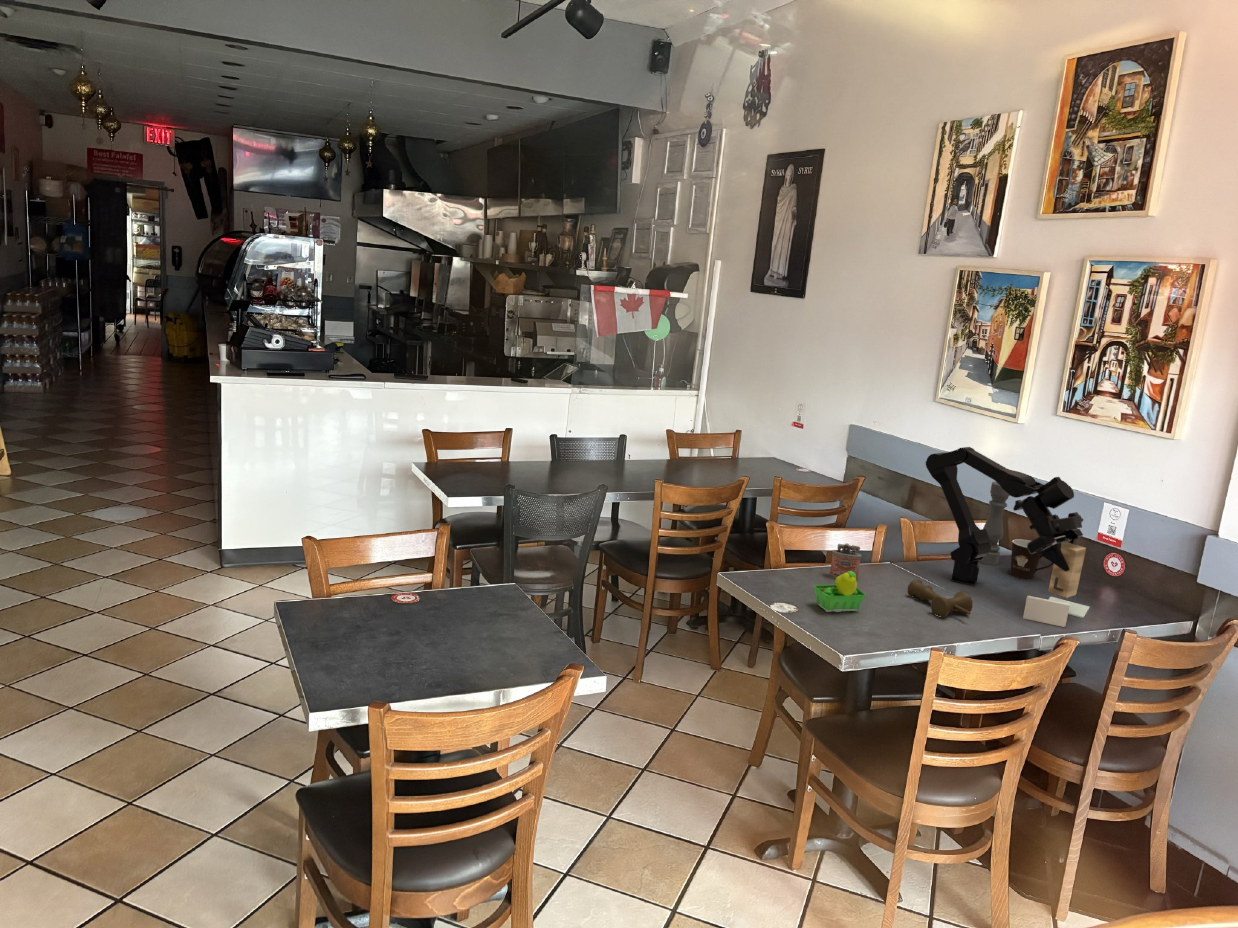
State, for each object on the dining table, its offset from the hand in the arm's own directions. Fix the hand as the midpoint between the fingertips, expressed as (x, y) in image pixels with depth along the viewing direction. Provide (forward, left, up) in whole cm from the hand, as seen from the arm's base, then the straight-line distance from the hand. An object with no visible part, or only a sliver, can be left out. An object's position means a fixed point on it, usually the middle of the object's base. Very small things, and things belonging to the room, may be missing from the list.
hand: (1072, 569), depth 234 cm
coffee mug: (-9, +30, -14) cm, 34 cm away
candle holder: (-20, +39, -14) cm, 45 cm away
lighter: (-57, -5, -14) cm, 59 cm away
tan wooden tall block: (-1, +1, -7) cm, 7 cm away
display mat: (+1, +9, -13) cm, 16 cm away
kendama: (-30, -14, -14) cm, 36 cm away
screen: (-5, -7, -13) cm, 16 cm away
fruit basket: (-54, -30, -14) cm, 63 cm away
